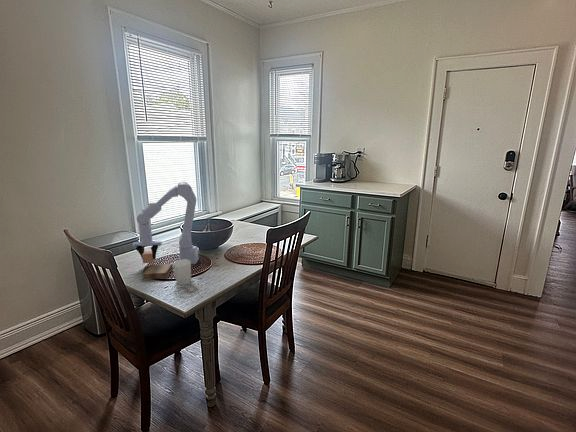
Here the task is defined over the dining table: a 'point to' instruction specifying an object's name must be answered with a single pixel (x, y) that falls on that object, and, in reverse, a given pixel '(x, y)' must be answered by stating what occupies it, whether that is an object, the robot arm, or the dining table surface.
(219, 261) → the dining table surface
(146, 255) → the cube
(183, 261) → the white cup
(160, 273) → the base
